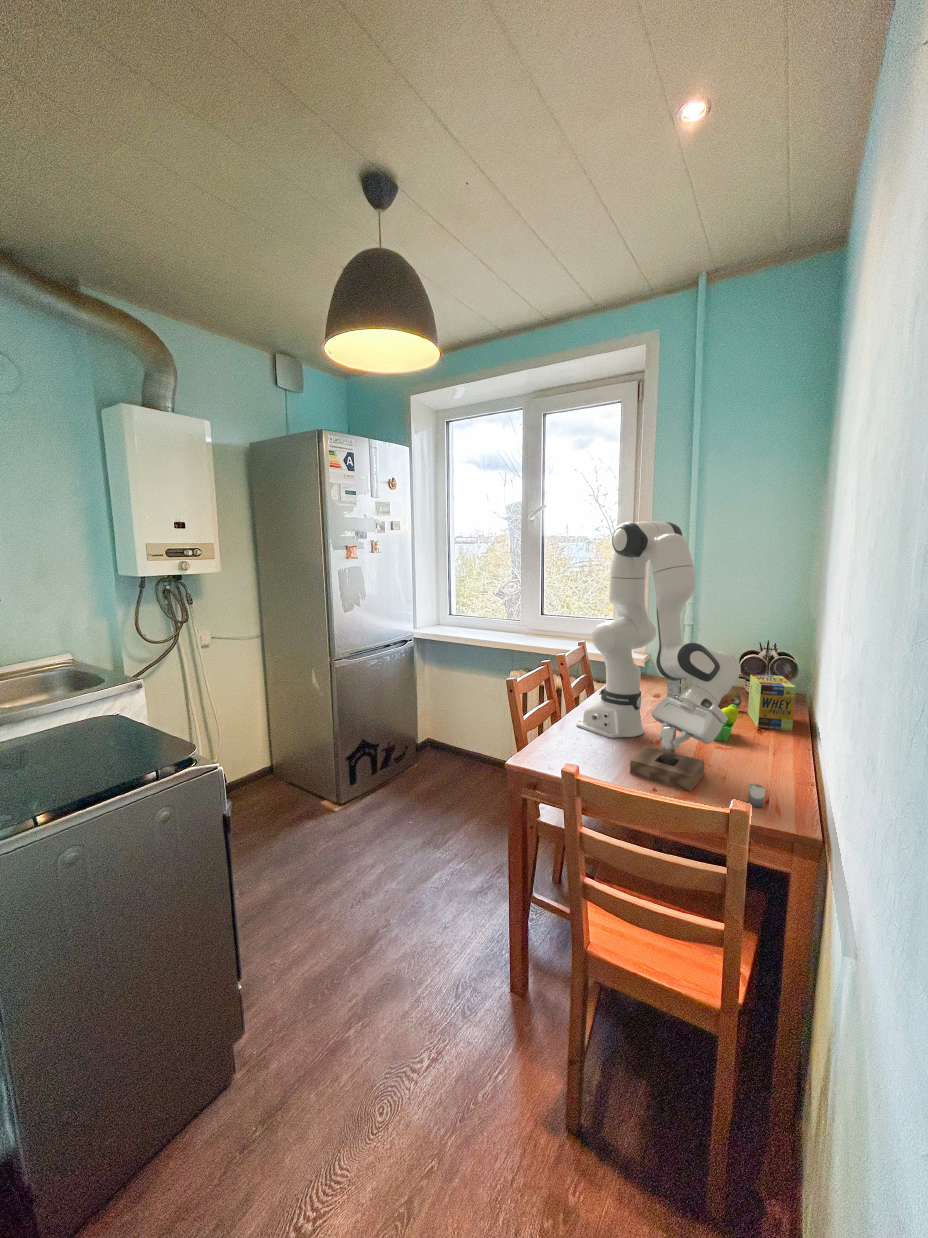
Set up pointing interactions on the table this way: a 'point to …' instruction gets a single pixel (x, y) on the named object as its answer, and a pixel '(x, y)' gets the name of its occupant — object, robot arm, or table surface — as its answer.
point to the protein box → (771, 702)
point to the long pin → (668, 744)
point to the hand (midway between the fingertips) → (667, 742)
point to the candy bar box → (677, 686)
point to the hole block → (667, 768)
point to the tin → (730, 699)
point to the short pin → (756, 796)
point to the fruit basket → (728, 722)
